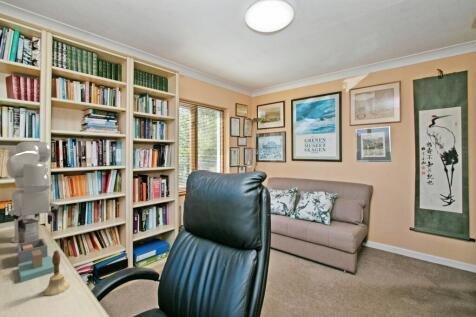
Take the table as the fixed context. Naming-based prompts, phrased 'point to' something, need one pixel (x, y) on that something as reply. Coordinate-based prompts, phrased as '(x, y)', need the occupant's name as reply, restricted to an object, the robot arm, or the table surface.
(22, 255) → the box
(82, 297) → the table surface
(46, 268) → the lid
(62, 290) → the hand bell
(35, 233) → the coffee box
